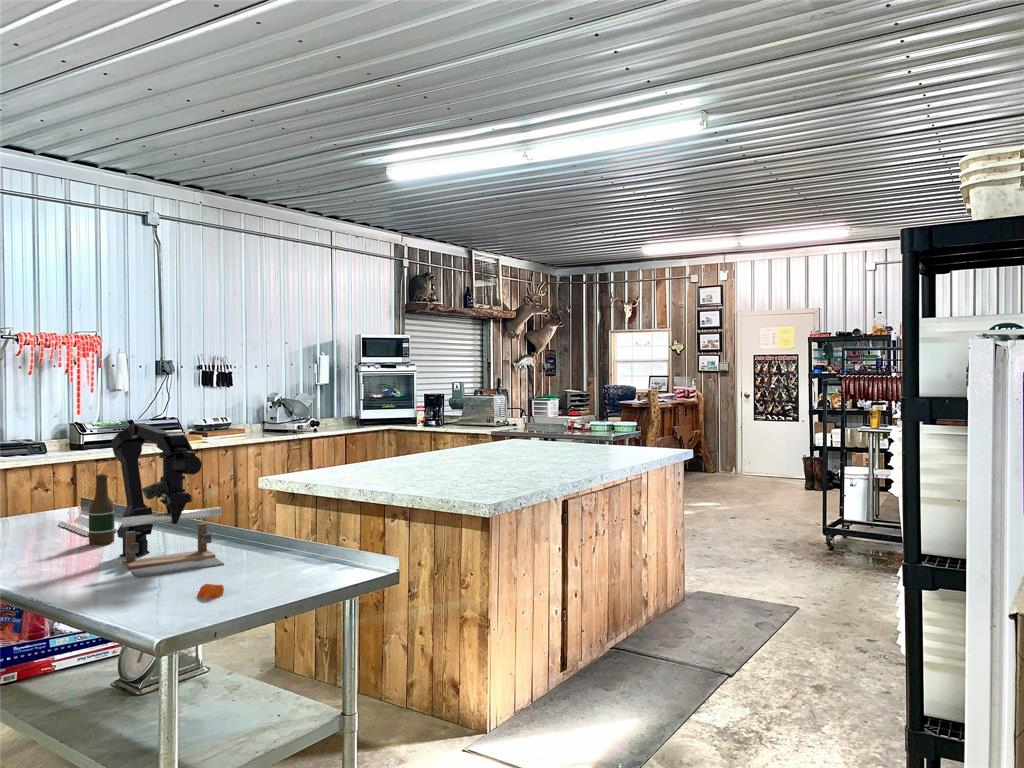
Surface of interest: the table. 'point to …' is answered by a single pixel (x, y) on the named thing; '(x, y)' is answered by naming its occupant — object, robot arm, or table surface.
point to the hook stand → (167, 559)
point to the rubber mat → (176, 567)
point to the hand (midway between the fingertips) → (173, 523)
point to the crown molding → (81, 521)
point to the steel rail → (167, 517)
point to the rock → (210, 591)
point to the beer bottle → (101, 514)
